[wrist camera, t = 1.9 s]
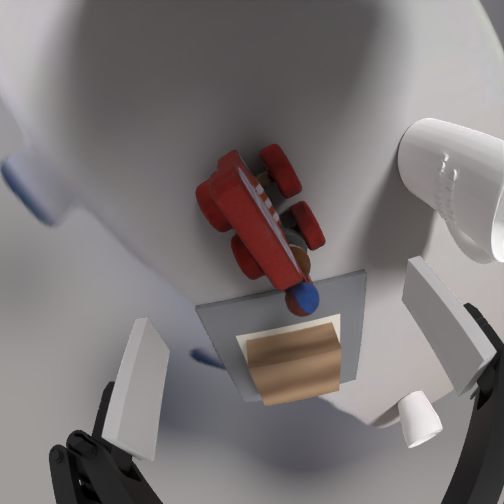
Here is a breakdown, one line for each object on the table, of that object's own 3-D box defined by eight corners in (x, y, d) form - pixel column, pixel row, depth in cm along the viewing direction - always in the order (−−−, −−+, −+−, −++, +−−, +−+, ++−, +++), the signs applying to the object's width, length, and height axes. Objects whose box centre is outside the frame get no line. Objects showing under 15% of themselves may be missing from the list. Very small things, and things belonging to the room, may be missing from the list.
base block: (246, 340, 30) (248, 368, 27) (331, 321, 29) (341, 348, 26) (262, 382, 35) (265, 405, 32) (332, 367, 35) (339, 390, 31)
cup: (421, 398, 50) (437, 435, 40) (390, 411, 51) (403, 451, 41) (430, 382, 45) (448, 423, 35) (395, 397, 46) (412, 442, 36)
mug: (409, 240, 25) (475, 318, 15) (384, 131, 19) (488, 175, 9) (462, 211, 24) (531, 271, 13) (447, 109, 18) (546, 141, 8)
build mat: (195, 306, 28) (195, 310, 27) (364, 269, 27) (366, 273, 26) (245, 399, 39) (245, 402, 39) (354, 376, 38) (355, 379, 38)
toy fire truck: (260, 275, 26) (272, 365, 18) (187, 165, 20) (151, 221, 12) (326, 244, 25) (367, 325, 16) (265, 122, 19) (292, 142, 10)
